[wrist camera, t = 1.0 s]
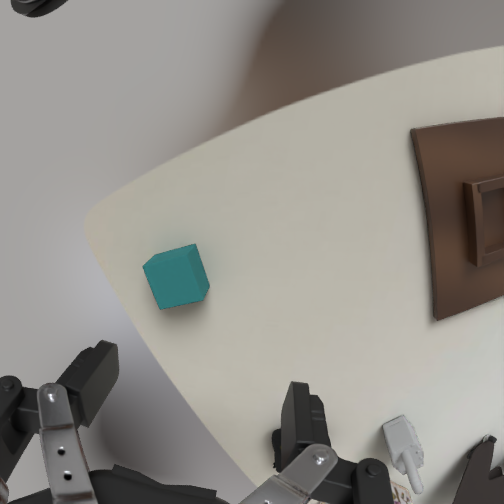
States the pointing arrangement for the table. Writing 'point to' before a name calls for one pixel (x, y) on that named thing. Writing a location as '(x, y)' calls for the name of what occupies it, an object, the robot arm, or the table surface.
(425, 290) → the table surface
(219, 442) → the table surface
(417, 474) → the padlock
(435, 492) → the table surface
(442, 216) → the back panel
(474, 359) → the table surface
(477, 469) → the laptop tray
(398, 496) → the decorative jar
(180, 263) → the teal pad
